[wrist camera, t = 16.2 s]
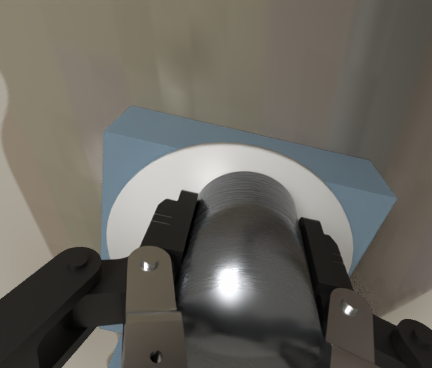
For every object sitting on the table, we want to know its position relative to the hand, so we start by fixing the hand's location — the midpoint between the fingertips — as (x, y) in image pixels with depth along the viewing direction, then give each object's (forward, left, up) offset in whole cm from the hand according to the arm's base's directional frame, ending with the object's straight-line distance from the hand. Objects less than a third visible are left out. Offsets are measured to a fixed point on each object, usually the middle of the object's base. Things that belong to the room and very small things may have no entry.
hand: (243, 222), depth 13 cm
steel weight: (0, 0, -1) cm, 1 cm away
